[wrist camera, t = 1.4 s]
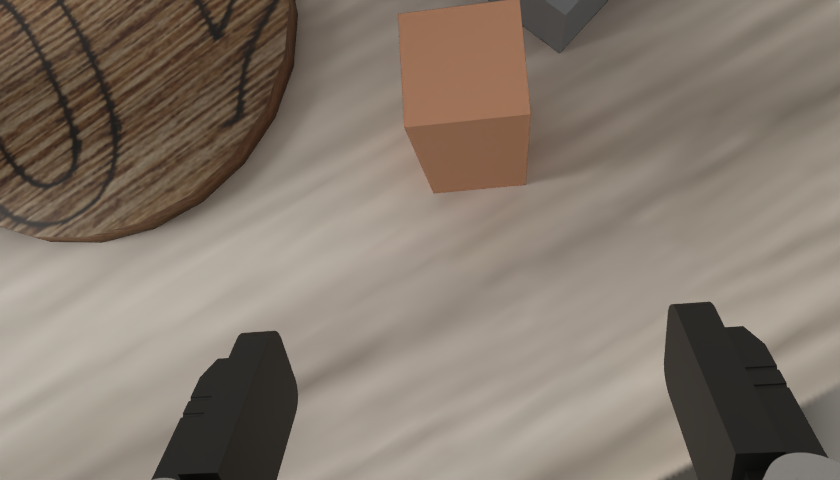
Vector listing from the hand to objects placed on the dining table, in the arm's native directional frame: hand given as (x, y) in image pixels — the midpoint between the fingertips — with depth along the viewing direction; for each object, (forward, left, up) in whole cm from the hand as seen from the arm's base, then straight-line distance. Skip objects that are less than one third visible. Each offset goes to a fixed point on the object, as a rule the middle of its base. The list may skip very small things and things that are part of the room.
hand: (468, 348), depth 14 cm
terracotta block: (-8, +8, -21) cm, 24 cm away
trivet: (-31, -2, -21) cm, 37 cm away
